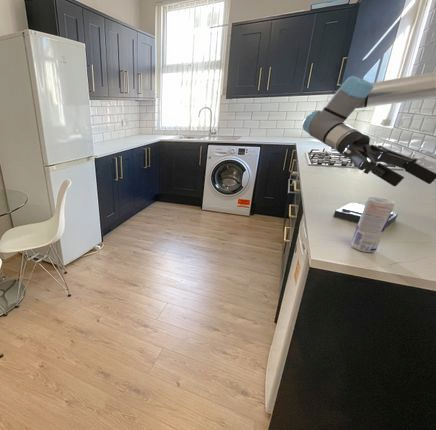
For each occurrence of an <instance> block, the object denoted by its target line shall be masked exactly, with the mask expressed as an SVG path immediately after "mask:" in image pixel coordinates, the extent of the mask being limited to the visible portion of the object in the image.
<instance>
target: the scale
mask: <svg viewBox="0 0 436 430" xmlns="http://www.w3.org/2000/svg"><path fill="white" fill-rule="evenodd" d="M364 206H365V204H364V205H363V204H359V203H355V202H352V203H351V202H350V203H348V204H346V205H344V206H341V207H339V208H338V209H336V210H334V213H333V217H334V218H336V217H337V219H341V220H344V221H347V220H348V222H351V223H354V224H355V223H356V224H358V223H359V220H360V218H361V215H362V212H363V209H364ZM398 215H399V214H398V213H395V212H394V211H392V212H391V214H390V217H389V219H388V222H387V224H386V227H385V229H386V228H387V227H389V226H391V224H393V223H394V222H395V221H396V220H397V218H398Z"/></svg>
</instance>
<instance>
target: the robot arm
mask: <svg viewBox="0 0 436 430" xmlns="http://www.w3.org/2000/svg"><path fill="white" fill-rule="evenodd" d="M432 99H436V71H433V72H428V73H421V74H416V75H410V76H404V77H398V78H393V79H387V80H381V81H376V82H375V81H374V82H369V81H368V80H365V79H363V78H360V77H358V76H354V75H351V76H349V77H347V78H346V80H345V81H344V82H343V83H342V84H341V85H340V87H338V88H337V91H336V92H335V93H334V95H332V97H331V98H330V100H328V102H327V103H326V104H325V106H324V107H323V108H322V109H321V110H314V111H311V112H310V114H308V115H307V116H306V117H305V118H304V120H303V122H302V124H301V125H302V126H301V127H302V129H303V131H304V132H306V133H307V134H308V135H309V137H312V138H314V139H315V140H318V141H319V142H321V143H323V144H324V145H326V146H327V147H329V149H330V150H332V151H333V150H334V151H336V152H337V153H339V155H342V156H344V158H347V159H349V160H350V161H351V162H352V164H354V166H355V167H356V168H357V169H358V170H360V171H362V173H364V174H367V175H369V173H372V174H373V175H375V176H376V177H378V178H380V179H381V180H383V181H385V182H386V183H388V184H389V185H391V186H392V187H397V186H398V185H399V184H400V183H401V182H402V181H403V179H405V176H403V175H401V174H400V173H398V172H396V171H395V170H392V169H391V168H390V167H388V166H386V165H384V164H382V163H380V162H383V163H386V164H388V165H392V166H394V167H397V168H401V169H403V170H404V171H405V172H406V173H408V174H410V175H412V176H413V177H415V178H416V179H419V180H420V181H423V182H424V183H426V184H427V185H431V184H432V183H433V182H434V181H435V180H436V172H434V171H432V170H430V169H428V168H426V167H425V166H423V165H421V164H419V163H417V162H418V159H417V158H415V157H414V158H412V157H409V156H407V155H405V154H401V153H399V152H396V151H394V150H391V149H388V148H386V147H384V146H382V145H379V144H378V145H375V144H370V142H371V137H370V136H369V135H367V134H366V133H364V132H362V131H360V130H358V129H357V128H355V127H352V126H350V125H349V124H346V123H345V121H346V120H347V119H348V118H349V116H350V115H352V113H353V112H354V111H355V110H356V109H363V108H371V107H378V106H385V105H393V104H401V103H402V104H403V103H408V102H417V101H425V100H432Z"/></svg>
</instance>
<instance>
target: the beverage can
mask: <svg viewBox="0 0 436 430" xmlns="http://www.w3.org/2000/svg"><path fill="white" fill-rule="evenodd" d="M366 199H367V200H366V201H365V204H364V209H363V212H362V215H361V218H360V220H359V223H357V226H356V229H355V232H354V234H353V237H352V240H351V243H350V246H351V247H352V248H353V249H356V250H357V251H359V252H363V253H374V252H377V249H378V247H379V244H380V241H381V239H382V236H383V234H384V232H385V229H386V228H387V227H386V224H387V222H388V219H389V217H390V214H391V212H393V209H394V206H395V203H396V202H395V201H394V200H390V199H389V198H388V199H387V198H384V197H383V198H382V197H373V196H372V197H371V196H370V197H367V198H366ZM385 227H386V228H385Z"/></svg>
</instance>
